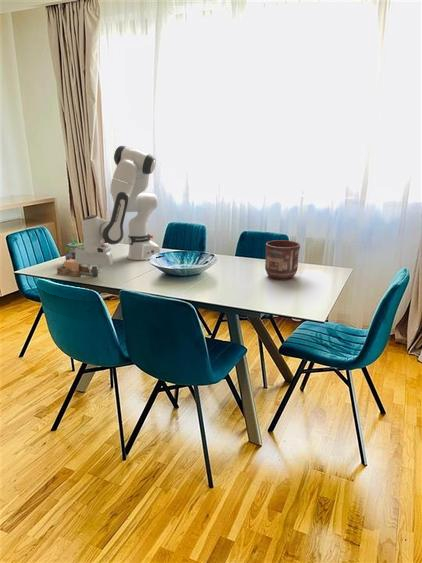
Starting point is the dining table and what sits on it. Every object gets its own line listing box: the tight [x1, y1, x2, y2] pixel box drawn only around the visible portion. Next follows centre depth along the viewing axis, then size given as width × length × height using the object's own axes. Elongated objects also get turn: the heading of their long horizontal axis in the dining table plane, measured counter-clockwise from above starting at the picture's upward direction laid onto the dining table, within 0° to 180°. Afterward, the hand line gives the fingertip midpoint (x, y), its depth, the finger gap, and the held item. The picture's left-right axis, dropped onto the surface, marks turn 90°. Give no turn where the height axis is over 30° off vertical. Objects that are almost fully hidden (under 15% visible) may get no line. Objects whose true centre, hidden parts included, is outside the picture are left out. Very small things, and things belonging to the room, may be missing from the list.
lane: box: [56, 265, 91, 278], centre depth 224 cm, size 15×9×3 cm, turn 66°
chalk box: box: [63, 237, 84, 266], centre depth 240 cm, size 9×9×15 cm
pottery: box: [264, 239, 301, 280], centre depth 218 cm, size 18×18×18 cm
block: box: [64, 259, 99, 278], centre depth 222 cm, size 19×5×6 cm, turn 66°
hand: (95, 272), depth 219 cm, fingers closed on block, 3 cm apart
